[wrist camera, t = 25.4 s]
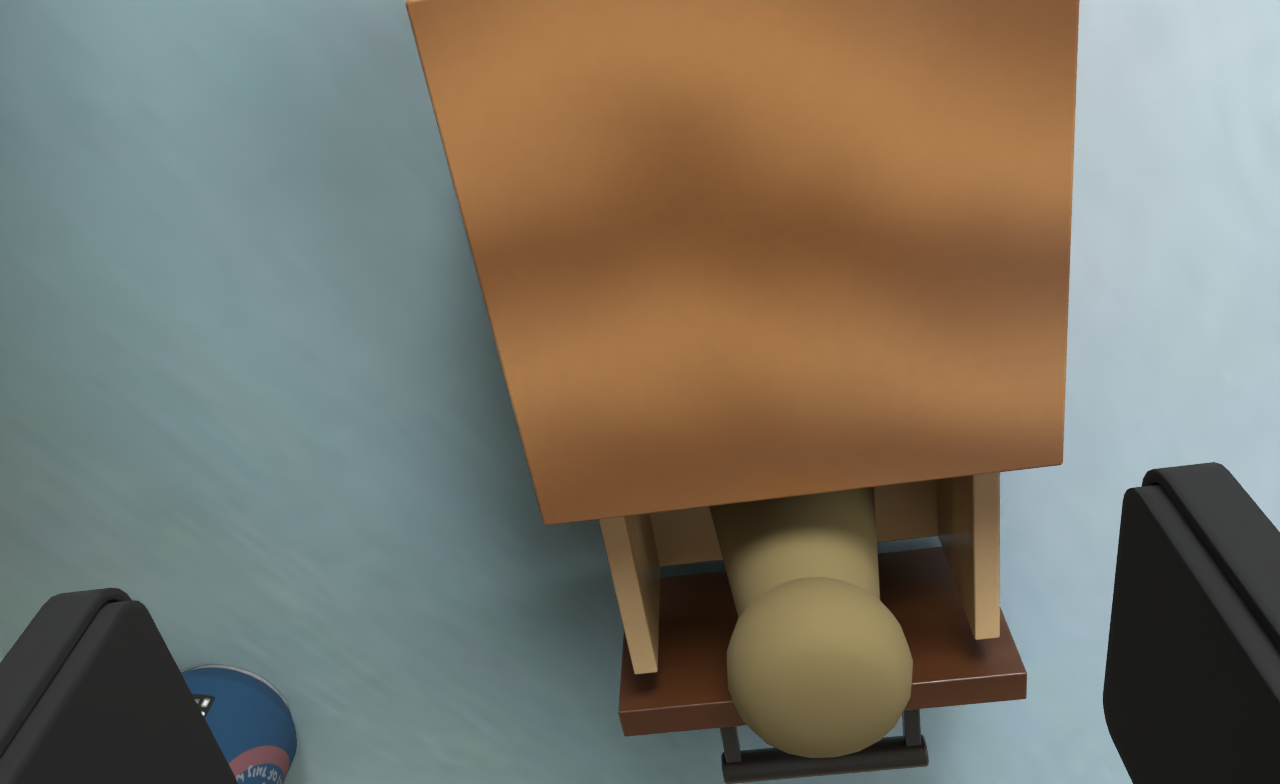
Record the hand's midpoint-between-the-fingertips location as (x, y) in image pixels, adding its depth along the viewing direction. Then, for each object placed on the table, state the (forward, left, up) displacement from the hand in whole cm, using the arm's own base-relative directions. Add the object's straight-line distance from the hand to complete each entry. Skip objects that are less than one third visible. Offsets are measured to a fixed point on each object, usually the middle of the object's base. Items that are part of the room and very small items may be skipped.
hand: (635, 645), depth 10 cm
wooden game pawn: (+5, -14, -24) cm, 28 cm away
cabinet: (+3, -3, -26) cm, 26 cm away
